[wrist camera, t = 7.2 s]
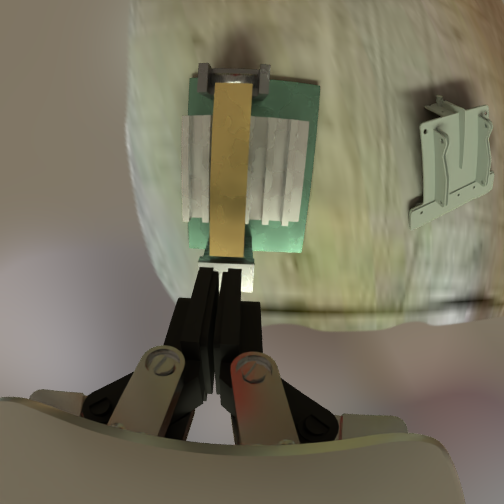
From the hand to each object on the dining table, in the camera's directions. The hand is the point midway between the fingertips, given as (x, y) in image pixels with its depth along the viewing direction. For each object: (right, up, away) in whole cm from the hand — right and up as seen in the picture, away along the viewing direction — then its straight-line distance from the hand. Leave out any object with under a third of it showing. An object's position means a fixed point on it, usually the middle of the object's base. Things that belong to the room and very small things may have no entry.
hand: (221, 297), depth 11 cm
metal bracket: (+23, +12, +12) cm, 29 cm away
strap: (0, +8, +7) cm, 10 cm away
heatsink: (+1, +9, +12) cm, 16 cm away
